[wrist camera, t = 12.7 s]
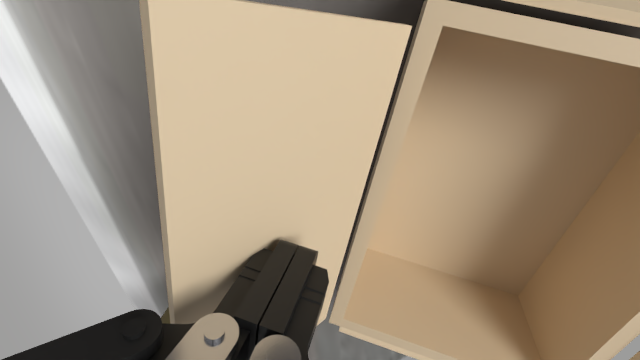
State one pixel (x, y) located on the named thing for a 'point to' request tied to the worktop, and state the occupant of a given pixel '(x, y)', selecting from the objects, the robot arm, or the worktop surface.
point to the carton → (504, 191)
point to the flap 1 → (260, 134)
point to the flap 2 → (636, 356)
